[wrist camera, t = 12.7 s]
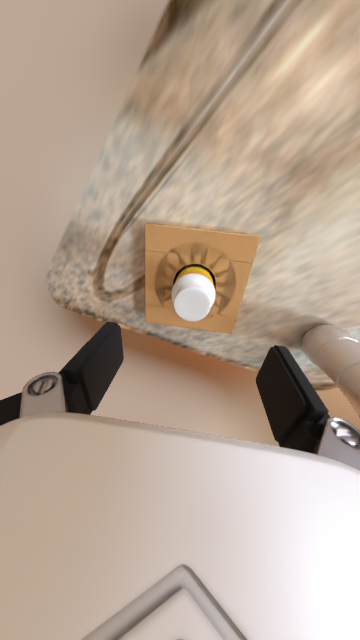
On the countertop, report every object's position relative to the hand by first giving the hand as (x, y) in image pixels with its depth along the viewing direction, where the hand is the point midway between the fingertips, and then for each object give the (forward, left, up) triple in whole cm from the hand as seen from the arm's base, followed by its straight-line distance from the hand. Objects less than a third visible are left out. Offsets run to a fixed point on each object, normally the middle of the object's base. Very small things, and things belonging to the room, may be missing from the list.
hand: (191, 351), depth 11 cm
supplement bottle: (+1, 0, -18) cm, 18 cm away
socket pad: (+1, 0, -18) cm, 18 cm away
